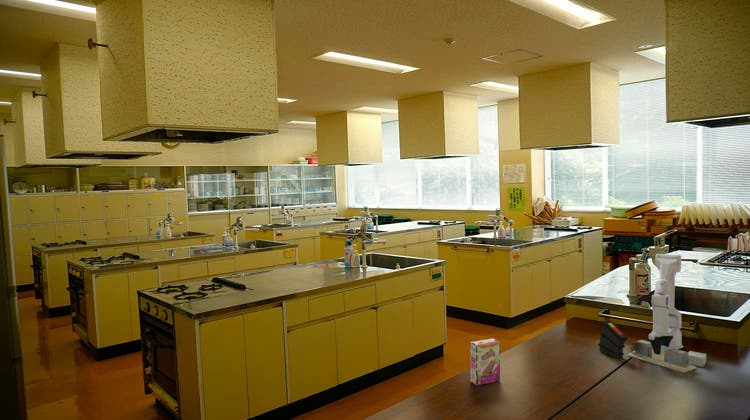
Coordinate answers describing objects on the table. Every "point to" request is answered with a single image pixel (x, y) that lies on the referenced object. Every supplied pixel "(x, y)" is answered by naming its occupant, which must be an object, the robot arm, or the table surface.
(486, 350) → the candy bar box
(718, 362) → the table surface
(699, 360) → the block
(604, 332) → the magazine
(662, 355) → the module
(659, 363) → the rail panel
